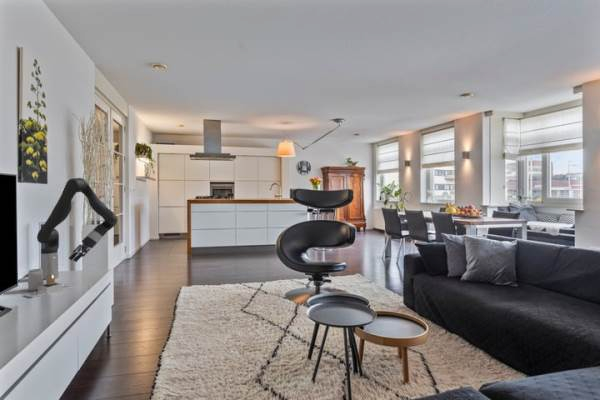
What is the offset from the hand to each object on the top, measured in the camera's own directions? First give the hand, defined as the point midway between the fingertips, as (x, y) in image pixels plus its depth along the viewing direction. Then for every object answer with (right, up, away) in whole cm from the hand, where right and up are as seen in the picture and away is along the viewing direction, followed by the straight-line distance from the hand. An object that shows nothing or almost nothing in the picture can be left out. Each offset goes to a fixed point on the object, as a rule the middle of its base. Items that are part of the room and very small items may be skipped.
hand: (72, 260), depth 216 cm
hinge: (-7, -17, -8) cm, 20 cm away
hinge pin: (-7, -17, -8) cm, 20 cm away
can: (-20, -17, -3) cm, 26 cm away
